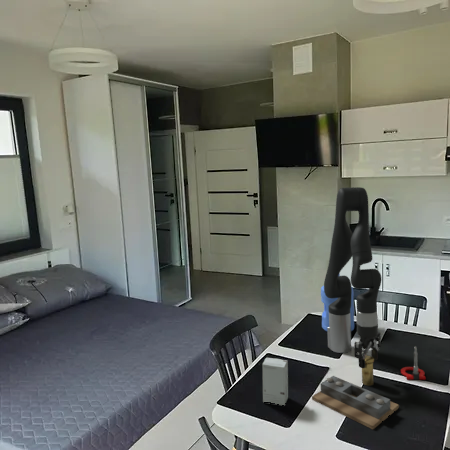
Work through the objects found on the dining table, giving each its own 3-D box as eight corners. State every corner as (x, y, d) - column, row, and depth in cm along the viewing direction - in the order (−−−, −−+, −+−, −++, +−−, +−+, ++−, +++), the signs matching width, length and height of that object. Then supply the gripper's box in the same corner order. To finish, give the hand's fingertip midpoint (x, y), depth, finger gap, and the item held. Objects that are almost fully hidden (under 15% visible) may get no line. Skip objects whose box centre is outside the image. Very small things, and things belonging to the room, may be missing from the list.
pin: (358, 382, 159) (357, 358, 157) (365, 378, 162) (365, 354, 160) (369, 387, 155) (369, 362, 154) (376, 382, 158) (376, 358, 157)
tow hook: (398, 369, 168) (404, 380, 159) (398, 338, 166) (404, 347, 157) (420, 369, 166) (428, 380, 157) (420, 338, 165) (428, 347, 156)
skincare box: (263, 403, 150) (260, 364, 148) (267, 394, 156) (265, 356, 154) (286, 406, 147) (284, 367, 145) (289, 397, 153) (287, 359, 151)
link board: (312, 399, 150) (311, 385, 150) (338, 382, 160) (338, 369, 160) (372, 429, 132) (372, 414, 131) (398, 407, 142) (398, 393, 141)
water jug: (359, 326, 210) (358, 272, 206) (345, 337, 199) (343, 280, 194) (331, 319, 221) (330, 268, 216) (316, 329, 209) (314, 275, 205)
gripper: (368, 314, 162) (369, 354, 164) (347, 325, 153) (348, 367, 155) (386, 318, 156) (387, 359, 159) (365, 330, 147) (367, 373, 150)
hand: (368, 363), depth 157 cm, fingers open, 8 cm apart
